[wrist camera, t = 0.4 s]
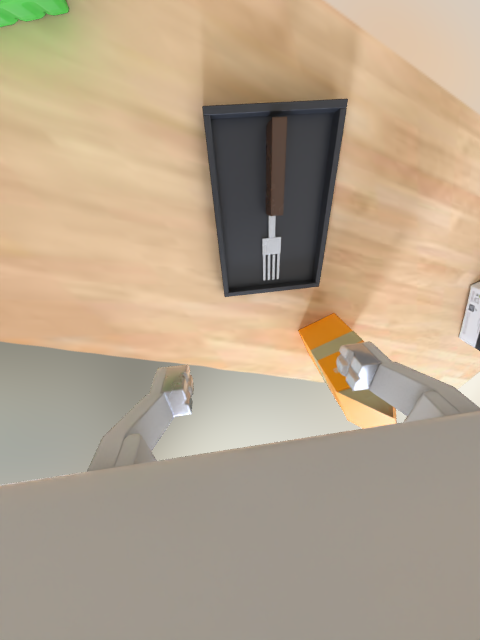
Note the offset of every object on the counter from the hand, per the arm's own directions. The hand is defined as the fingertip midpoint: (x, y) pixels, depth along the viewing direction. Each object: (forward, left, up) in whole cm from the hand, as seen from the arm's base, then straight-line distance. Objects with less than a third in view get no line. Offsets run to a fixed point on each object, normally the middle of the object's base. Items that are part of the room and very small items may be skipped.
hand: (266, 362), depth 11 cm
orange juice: (+18, +17, -23) cm, 34 cm away
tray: (-5, +6, -23) cm, 24 cm away
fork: (-5, +6, -23) cm, 24 cm away
